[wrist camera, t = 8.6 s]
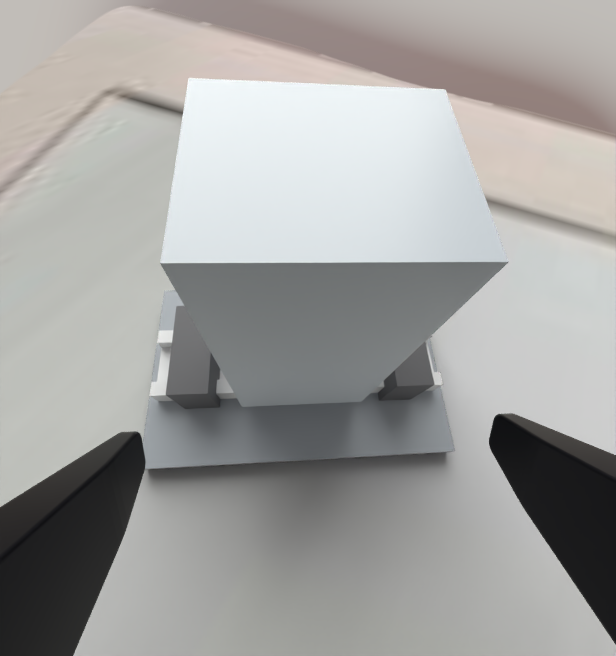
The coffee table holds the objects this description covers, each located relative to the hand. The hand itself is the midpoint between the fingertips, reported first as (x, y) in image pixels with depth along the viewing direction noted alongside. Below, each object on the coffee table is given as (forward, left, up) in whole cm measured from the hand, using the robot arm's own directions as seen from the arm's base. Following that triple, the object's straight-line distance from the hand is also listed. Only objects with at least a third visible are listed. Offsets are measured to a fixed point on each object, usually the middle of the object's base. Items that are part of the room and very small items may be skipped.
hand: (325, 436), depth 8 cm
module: (+5, +1, -8) cm, 9 cm away
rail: (+5, +1, -10) cm, 11 cm away
